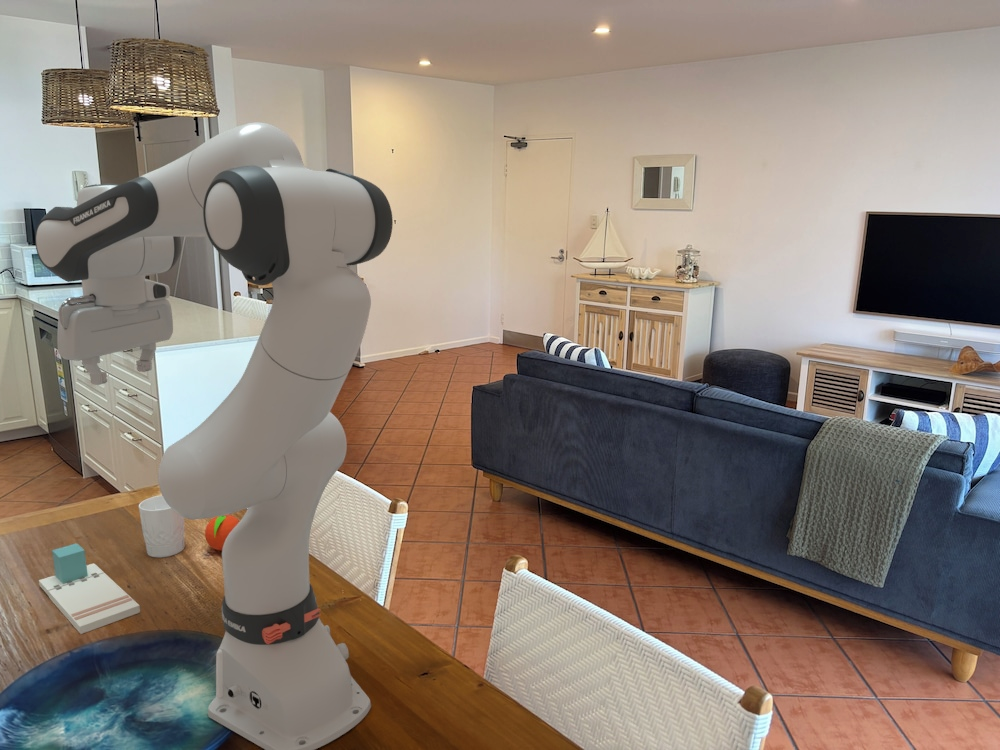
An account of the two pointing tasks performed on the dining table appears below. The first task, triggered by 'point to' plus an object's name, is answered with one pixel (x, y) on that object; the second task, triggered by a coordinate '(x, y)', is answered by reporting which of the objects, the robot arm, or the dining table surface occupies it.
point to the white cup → (161, 527)
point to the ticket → (93, 602)
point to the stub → (69, 568)
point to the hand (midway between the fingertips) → (122, 377)
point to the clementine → (219, 530)
